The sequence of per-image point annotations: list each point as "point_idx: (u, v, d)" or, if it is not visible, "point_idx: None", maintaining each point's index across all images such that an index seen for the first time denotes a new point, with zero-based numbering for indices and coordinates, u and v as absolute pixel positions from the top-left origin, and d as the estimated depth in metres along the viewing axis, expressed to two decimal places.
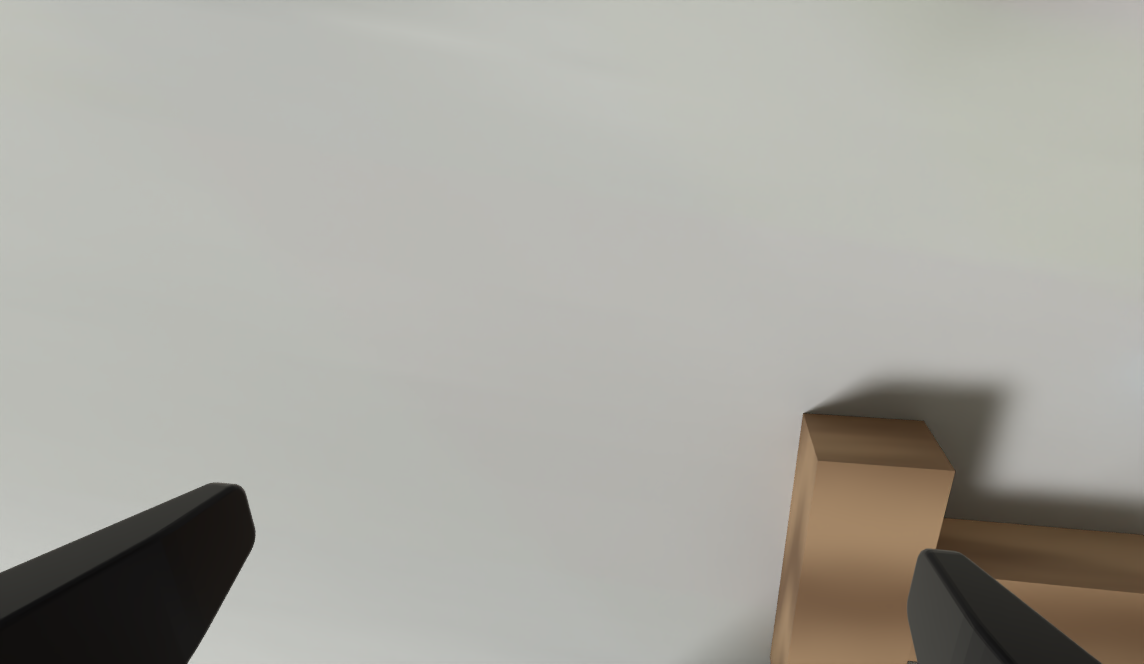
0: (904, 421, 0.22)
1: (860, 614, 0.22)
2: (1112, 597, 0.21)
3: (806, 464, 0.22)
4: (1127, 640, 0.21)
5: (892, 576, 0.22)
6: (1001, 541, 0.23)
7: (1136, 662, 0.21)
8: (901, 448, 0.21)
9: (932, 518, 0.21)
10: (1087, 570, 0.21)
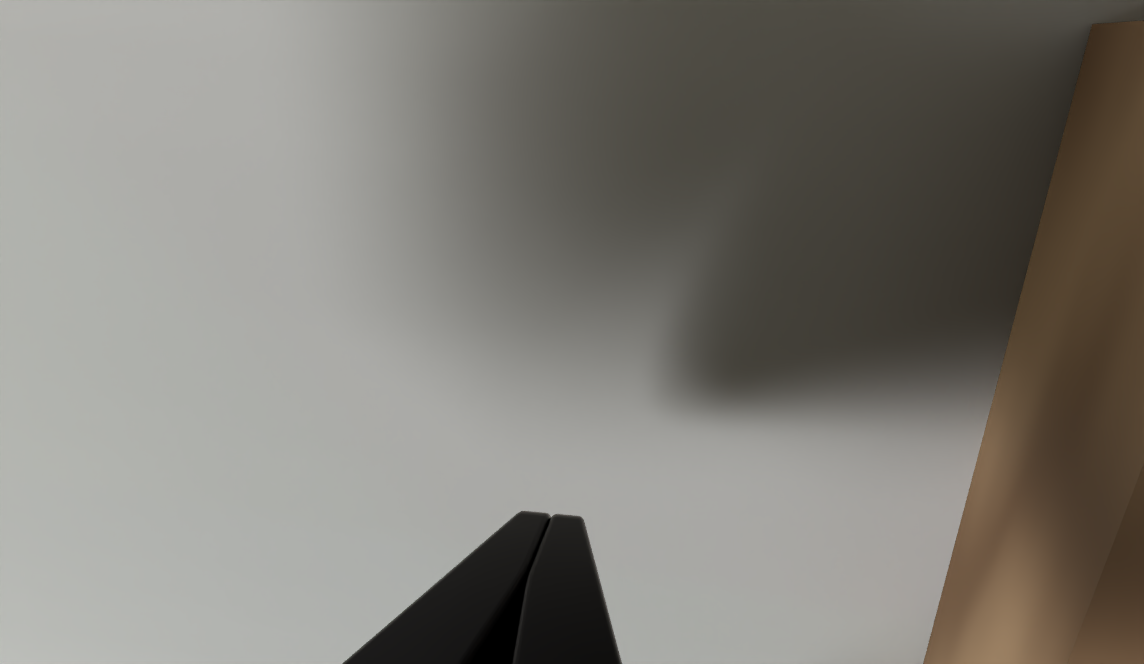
0: None
1: None
2: None
3: None
4: None
5: None
6: None
7: None
8: None
9: None
10: None
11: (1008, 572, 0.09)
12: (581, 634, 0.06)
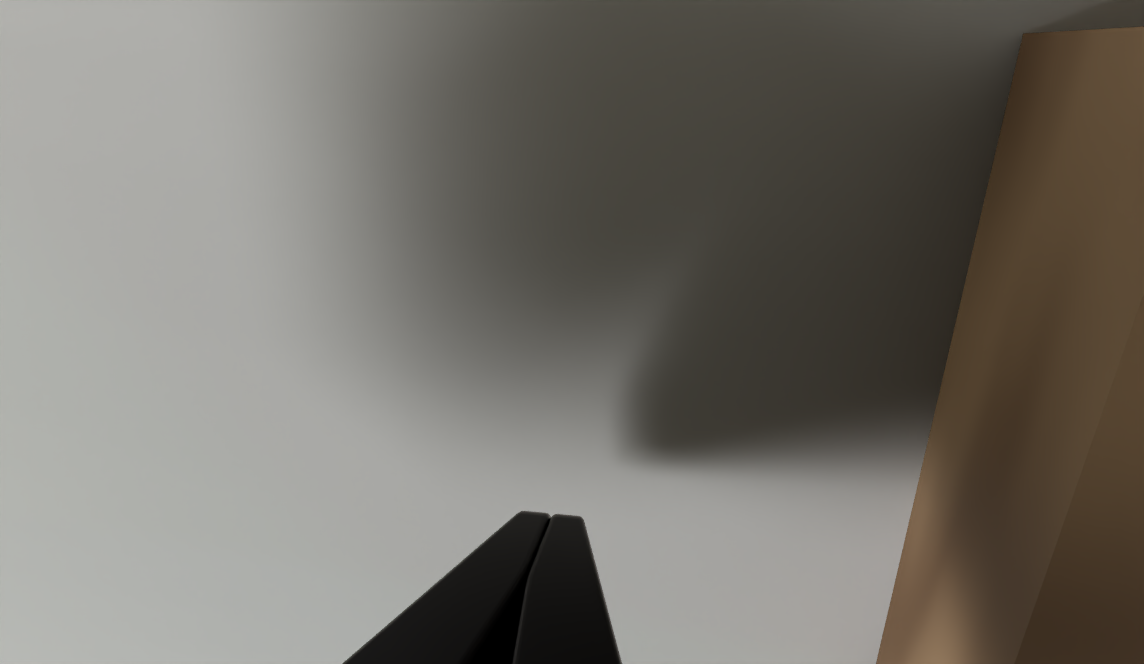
0: None
1: None
2: None
3: (1074, 161, 0.06)
4: None
5: None
6: None
7: None
8: None
9: None
10: None
11: (941, 620, 0.08)
12: (582, 634, 0.06)
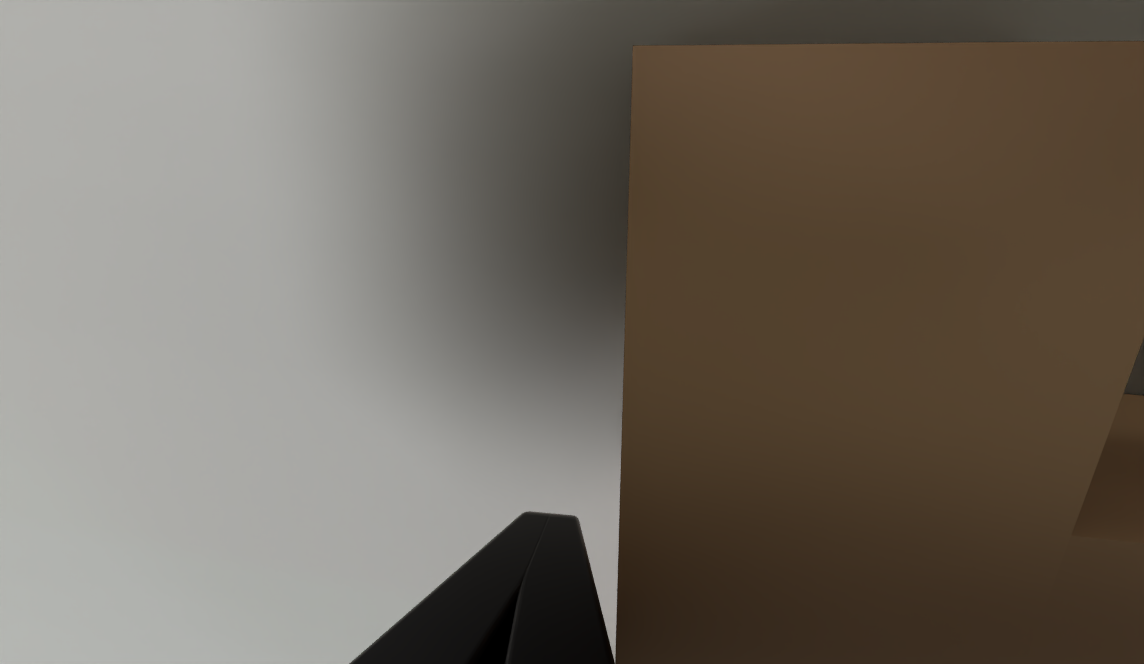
0: None
1: None
2: None
3: None
4: None
5: (932, 550, 0.06)
6: None
7: None
8: None
9: (1108, 303, 0.05)
10: None
11: None
12: (574, 633, 0.06)
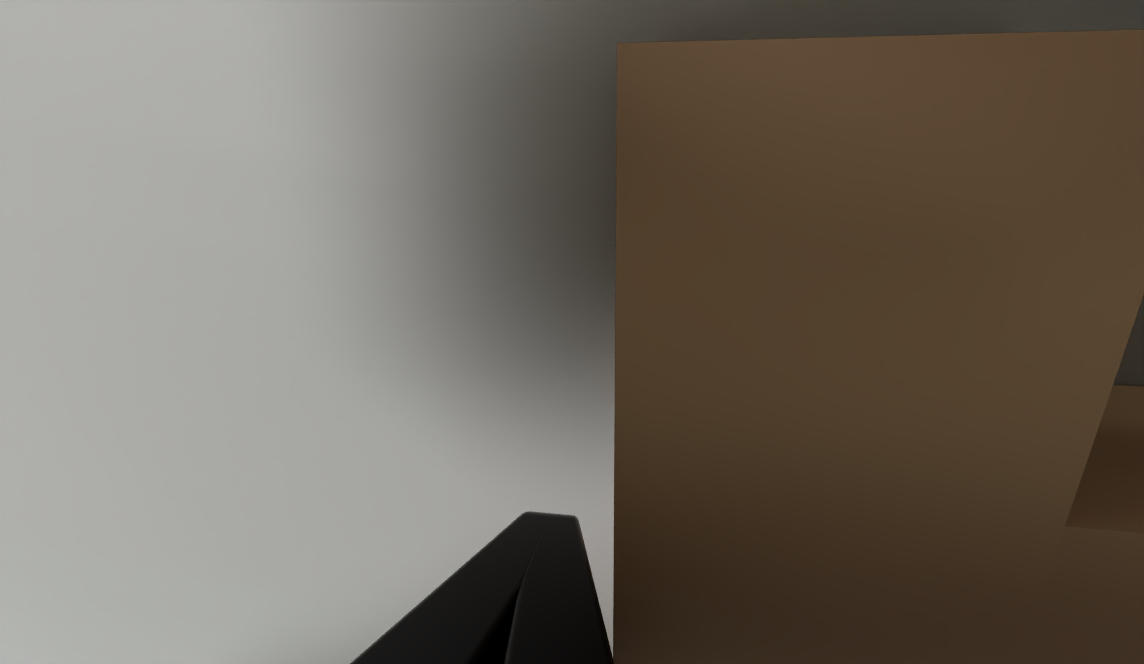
0: None
1: None
2: None
3: None
4: None
5: (926, 542, 0.06)
6: None
7: None
8: None
9: (1096, 293, 0.05)
10: None
11: None
12: (574, 633, 0.06)
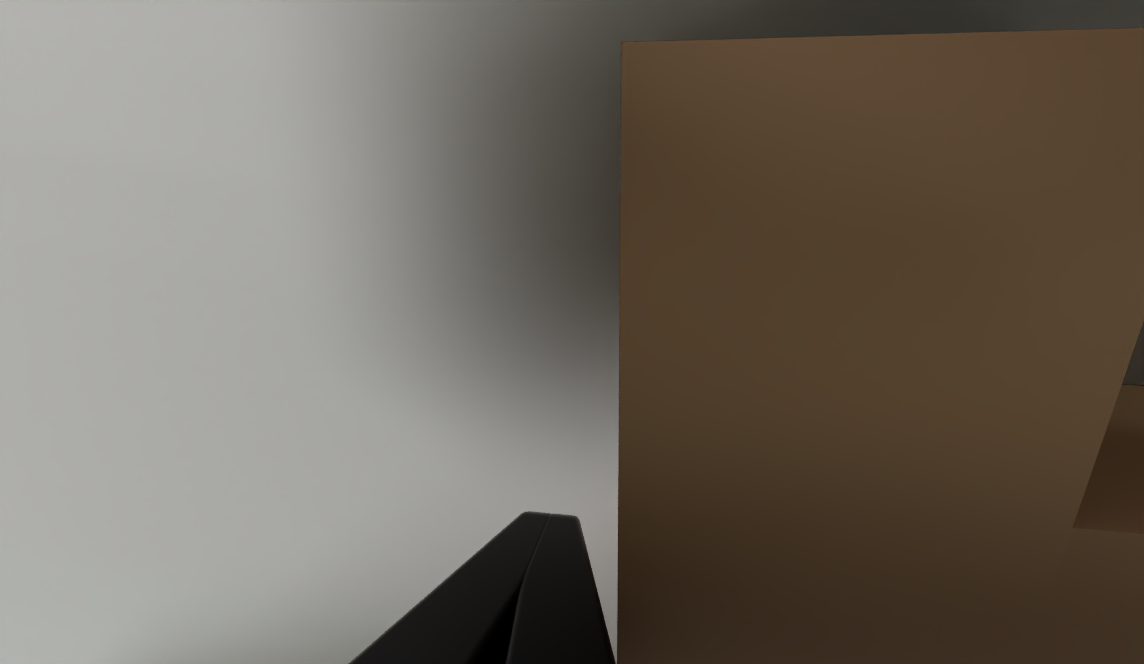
0: None
1: None
2: None
3: None
4: None
5: (932, 544, 0.06)
6: None
7: None
8: None
9: (1105, 293, 0.05)
10: None
11: None
12: (575, 633, 0.06)
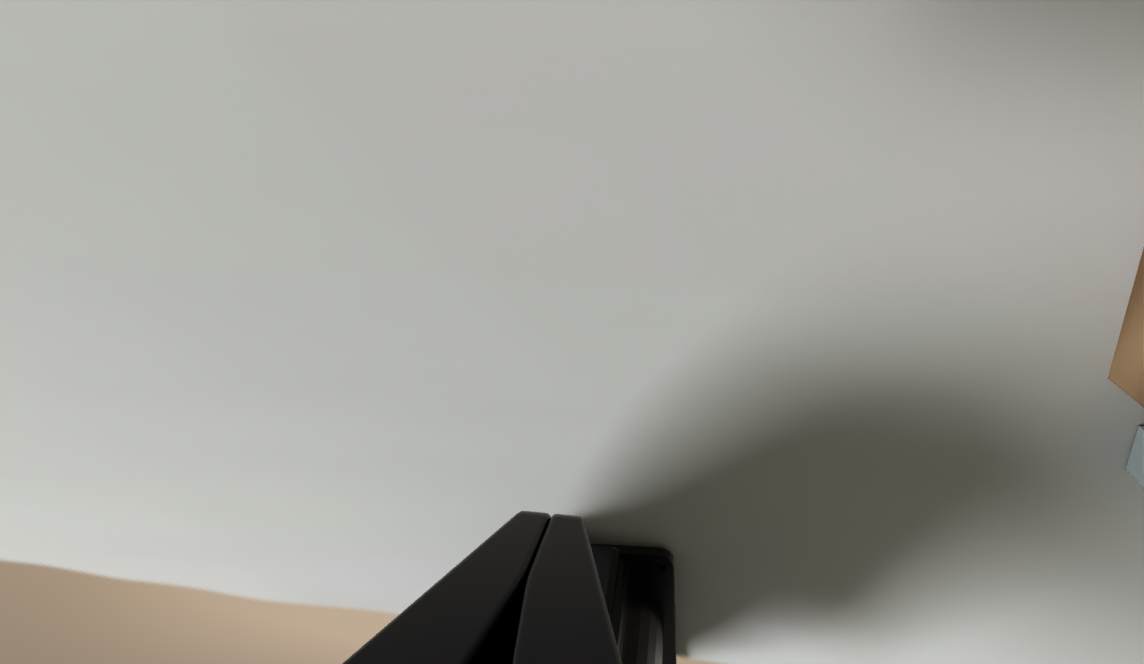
0: None
1: None
2: None
3: None
4: None
5: None
6: None
7: None
8: None
9: None
10: None
11: None
12: (581, 634, 0.06)
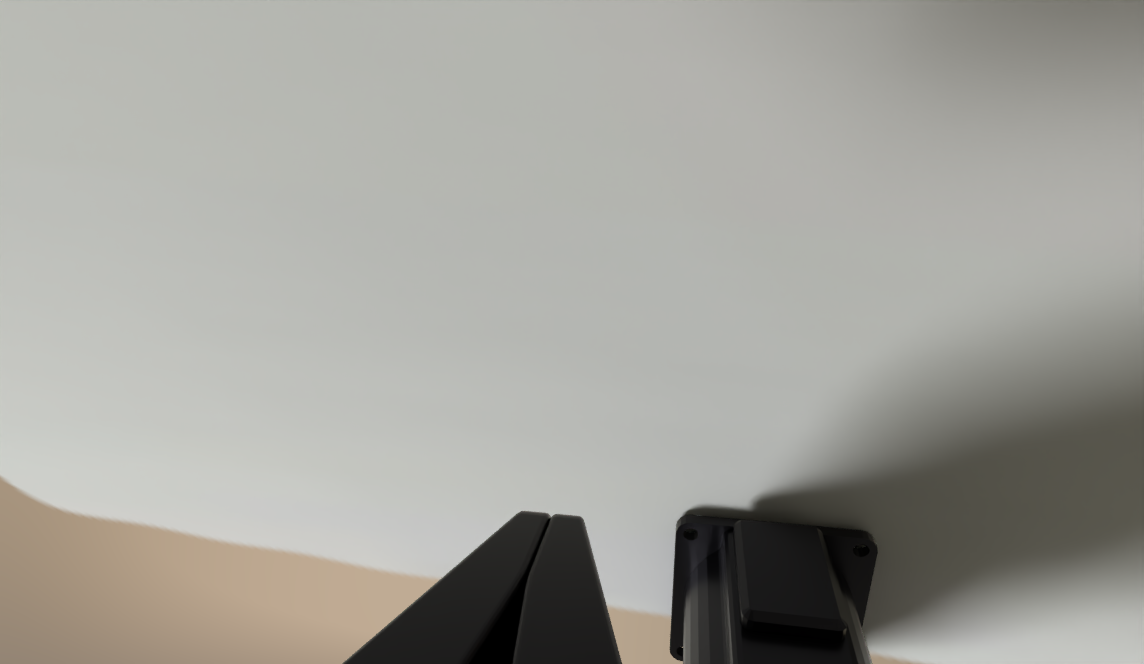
0: None
1: None
2: None
3: None
4: None
5: None
6: None
7: None
8: None
9: None
10: None
11: None
12: (581, 634, 0.06)
